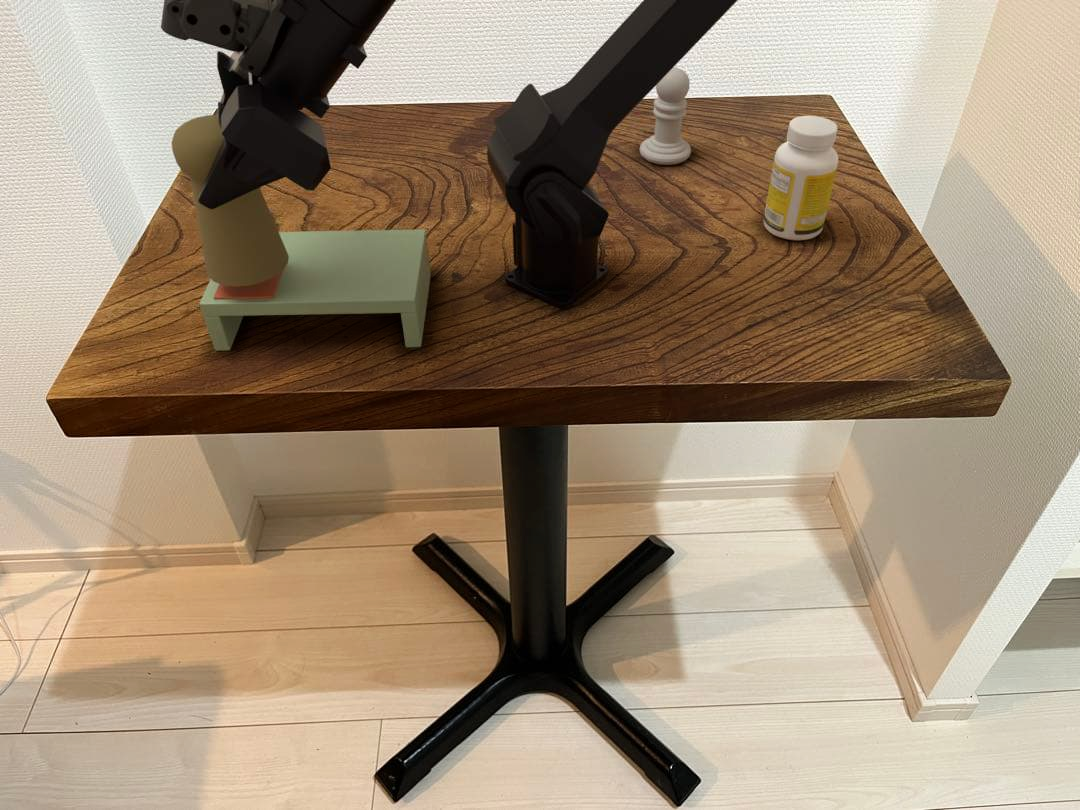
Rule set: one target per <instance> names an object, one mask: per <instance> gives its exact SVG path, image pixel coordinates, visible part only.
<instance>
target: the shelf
mask: <svg viewBox="0 0 1080 810" xmlns="http://www.w3.org/2000/svg"><path fill="white" fill-rule="evenodd" d="M278 232H279V234H280V237H281V239H282V241H283V244H284V246H285V248H286V251H287V253H288V256H289V259H288V264H287V265H286V266H285V268H284V269H283V271H281V272H280V273H278V274H277V275H276V276H274V277H273V278H270V279H268V280H266V281H264V282H261V283H257V284H253V285H249V286H238V287H235V286H225V285H221V284H219V283H216V282H214V281H213V280H212V279H210V280H209V282H208V284H207V286H206V289H205V291H204V293H203V295H202V297H201V299H200V301H199V307H200V311H201V313H202V316H203V320H204V322H205V325H206V327H207V331H208V334H209V337H210V340H211V342H212V345H213V348H214V351H217V352H219V351H231V349H232V347H233V344H234V341H235V339H236V337H237V334H238V332H239V329H240V326H241V323H242V321H243V318H244V317H246V316H249V317H250V316H289V315H290V316H298V315H299V316H300V315H301V316H303V315H307V316H308V315H349V314H350V315H352V314H353V315H354V314H355V315H357V314H358V315H359V314H400V317H401V324H402V330H403V337H404V344H405V348H421V347H422V343H423V334H424V326H425V320H426V315H427V314H426V312H427V306H428V298H429V292H430V291H429V289H430V283H431V277H432V272H431V265H430V253H429V246H428V239H427V230H426V229H425V228H423V229H422V228H421V229H372V230H371V229H368V230H365V229H363V230H318V231H317V230H315V231H307V230H306V231H278Z"/></svg>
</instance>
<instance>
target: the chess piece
mask: <svg viewBox="0 0 1080 810" xmlns="http://www.w3.org/2000/svg"><path fill="white" fill-rule="evenodd" d="M655 90H656V94H657V97H656V98H655V99H654V101H653V106H654V108H653V110H652V113H653V116H654V117H655V123H654V124H655V126H654V134H653V135H651V136H650V137H648V138H646V139H645V140H644V141H642V142H641V143H640V146H639V154H640V156H641V157H642V158H643V159H644V160H646V161H648V162H649V163H652V164H655V165H661V166H672V165H678V164H681V163H683V162H685V161H686V160H688V159H689V157H690V156H691V153H692V148H691V145H690V144H689V143H688V142H687V141H686V140H685V139H684V138H683V137H682V136H681V135H682V127H683V126H682V125H683V118H685V117H686V115H687V109H686V108H687V107H688V101H687V99H686V97H687V95H688V93H689V90H690V78H689V74H688V73H687V72H686V71H684V70H683V69H681V68H679V67H673V68H672V69H671V70H670V71H669V72H668V73H667V74H666V76H665V77H664V78H663V79H662V80H661V81H660V82H659V83H658V84H657V85H656V86H655Z"/></svg>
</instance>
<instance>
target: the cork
mask: <svg viewBox="0 0 1080 810" xmlns="http://www.w3.org/2000/svg"><path fill="white" fill-rule="evenodd" d="M223 140H224V136H223V135H222V132H221V128H220V126H219V122H218V115H216V114H207V115H202V116H197V117H195V118H192V119H189V120H187V121H185V122H183V123H182V124H181V125H180V126H179V127H177V128H176V129H175V131H174V134H173V136H172V139H171V150H172V154H173V157H174V160H175V162H176V164H177V166H178V167H179V169H180V170H181V172H182V173H184V174H185V175H187V176H188V177H189V180H190V185H191V191H192V198H193V202H194V208H195V213H196V220H197V226H198V230H199V231H198V232H199V236H200V242H201V249H202V252H203V253H202V254H203V260H204V264H205V271H206V273H207V277H208V278H209V279H210V280H211V279H212V280H213V281H214V282H216V283H219V284H221V285H225V286H235V287H238V286H249V285H253V284H257V283H261V282H264V281H266V280H268V279H270V278H273V277H274V276H276V275H277V274H278V273H280V272H281V271H283V269H284V268H285V266H286V265H287V264H288V259H289V256H288V253H287V251H286V248H285V246H284V244H283V241H282V239H281V237H280V234H279V232H280V231H279V230H278V228H277V225H276V223H275V221H274V219H273V218H274V217H273V215H272V213H271V211H270V208H269V206H268V204H267V202H266V199H265V197H264V194H263V192H262V190H261V187H260V188H258V189H256V190H253V191H251V192H249V193H247V194H245V195H242V196H240V197H238V198H236V199H234V200H232V201H230V202H228V203H225V204H223V205H221V206H219V207H217V208H215V209H209V208H207V207H205V206H203V205H202V204H200V203H199V202H198V197H199V194H200V192H201V190H202V187H203V185H204V182H205V180H206V178H207V176H208V173H209V171H210V169H211V167H212V165H213V162H214V160H215V158H216V156H217V153H218V151H219V149H220V147H221V145H222V142H223Z"/></svg>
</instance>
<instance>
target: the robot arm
mask: <svg viewBox="0 0 1080 810" xmlns="http://www.w3.org/2000/svg"><path fill="white" fill-rule="evenodd" d="M396 1H397V0H163V5H162V15H161V23H160V29H161V30H162V32H164V33H165V34H166V35H169V36H170V37H172V38H175V39H179V40H181V41H188V40H193V41H197V42H200V43H203V44H207V45H210V46H212V47H216V48H219V49H223V50H226V51H230V52H232V53H231V55H230V56H229V55H228V54H226V53H225V52H223V51H220V50H217V52H216V68H217V72H218V76H219V80H220V83H221V87H222V91H223V93H222V96H221V98H220V101H218V102H217V109H216V112H215V115H218V122H219V126H220V128H221V132H222V135H223V136H224V140H223V142H222V145H221V147H220V149H219V151H218V153H217V156H216V158H215V160H214V162H213V165H212V167H211V169H210V171H209V173H208V176H207V178H206V180H205V182H204V185H203V187H202V190H201V192H200V194H199V197H198V202H199V203H200V204H202V205H203V206H205V207H207V208H209V209H215V208H217V207H219V206H221V205H223V204H225V203H228V202H230V201H232V200H234V199H236V198H238V197H240V196H242V195H245V194H247V193H249V192H251V191H253V190H256V189H258V188H260V189H261V188H262V187H265V186H267V185H269V184H271V183H274V182H277V181H280V180H282V179H285V178H286V179H288V180H289V181H291V182H293V183H294V184H295V185H297V186H299V187H301V188H302V189H304V190H305V191H311V192H315V190H316V189H317V187H318V186H319V185H320V183H321V182H322V181H323V180H324V178H325V177H326V176H327V175H328V173H329V172H330V171H331V169H332V167H331V166H332V165H331V162H330V156H329V152H328V147H327V143H326V138H325V134H324V133H325V132H324V129H323V125H322V124H321V123H319V122H318V121H316V120H315V119H313V118H312V117H310V116H309V115H308V114H306V113H304V112H303V111H302V110H303V109H304V108H305V109H306V110H307V111H309V112H310V113H312V114H313V115H315V116H317V118H319V119H322V118H323V117H324V116H325V114H326V113H327V112H328V110H329V109H330V107H331V106H330V105H331V104H330V101H329V97H328V95H329V93H330V92H331V90H332V89H333V88H334V86H335V85H336V83H338V80H339V79H340V78H341V77H342V75H343V74H344V72H345V71H346V70H347V68H348V67H349V66H350V64H351V65H352V66H353V67H355V68H356V69H360V67H361V66H362V64H363V63H364V62H365V60H366V59H367V57H368V54H367V51H366V49H365V44H366V42H368V40H369V38H370V37H371V36H372V34H373V33H374V31H375V30H376V28H377V27H378V26H379V25H380V23H381V22H382V20H383V19H384V18H385V17H386V15H387V14H388V12H389V11H390V9H392V7H393V5H394V4H395V3H396ZM738 1H739V0H642V1H641V2H640V3H639V5H638V6H636V8H634V10H633V11H632V12H631V13H630V14H629V15H628V16H627V17H626V19H625V20H624V21H623V22H622V23H621V25H619V27H617V28H616V29H615V31H614V32H613V33H612V34H611V35H610V36H609V37H608V38H607V40H606V41H605V42H604V43H602V45H601V46H600V47H599V48H598V49H597V50H596V52H595V53H593V55H591V57H590V58H588V60H587V61H586V63H584V65H582V67H581V68H579V70H578V71H577V72H576V73H575V74H574V75H573V76H572V78H570V80H568V82H566V83H565V84H564V85H562V86H560V87H557V88H555V89H553V90H551V91H548V92H546V93H543V94H542V95H541V94H540V93H539V91H538V90H537V88H536V87H535V86H534V84H533V83H528V84H526V86H525V87H524V88H522V90H521V91H520V93H519V94H518V96H517V97H516V99H515V101H513V102H512V104H511V106H510V107H509V108H508V109H507V110H506V111H504V112H503V113H502V114H500V115H498V116H497V117H494V118H493V119H492V122H493V124H494V126H495V129H494V130H493V131H492V134H491V135H490V136H489V138H488V141H487V144H486V148H487V149H486V154H487V164H488V166H489V169H490V171H491V173H492V175H493V177H494V179H495V181H496V183H497V185H498V187H499V189H500V191H501V193H502V195H503V197H504V199H505V201H506V203H507V205H508V206H509V208H510V209H511V210H512V211H513V212H514V219H515V221H514V222H513V223H512V225H511V226H512V251H513V252H512V253H513V265H514V266H516V267H515V268H514V269H512V270H511V271H509V272H507V273H506V274H505V276H504V282H505V283H506V284H508V285H510V286H512V287H514V288H517V289H518V290H521V291H523V292H525V293H528V294H530V295H531V296H534V297H535V298H538V299H541V300H543V301H545V302H547V303H549V304H552V305H553V306H556V307H558V308H563V309H565V308H567V307H569V306H570V305H571V304H572V303H573V302H575V301H576V300H578V299H579V298H580V297H581V296H583V295H584V294H585V293H587V292H588V291H589V290H591V289H592V288H593V287H594V286H596V285H597V284H598V283H600V282H601V281H602V280H603V279H605V278H606V277H607V276H608V268H607V267H605V266H603V265H601V264H598V258H599V257H598V255H599V237H601V236H602V233H603V230H604V229H605V225H606V223H607V221H608V219H609V211H608V210H607V209H606V207H605V205H604V204H603V203H602V201H601V200H600V197H599V196H598V195H597V193H596V192H595V191H594V189H593V188H592V186H591V184H590V182H591V180H592V179H593V177H594V176H595V174H596V172H597V169H598V167H599V165H600V161H601V159H602V157H603V153H604V152H605V148H606V146H607V143H608V141H609V138H610V136H611V135H612V133H613V131H614V130H615V129H616V128H617V127H618V125H620V123H622V122H623V121H624V120H625V118H626V117H627V116H628V115H629V114H630V113H632V111H633V110H634V109H635V108H636V107H637V106H638V105H639V104H640V103H641V102H642V101H643V100H644V99H645V98H646V96H647V95H648V94H649V93H651V91H652V90H654V88H656V85H657V84H658V83H659V82H660V81H661V80H662V79H663V78H664V77H665V76H666V74H667V73H668V72H669V71H670V70H671V69H672V68H675V67H676V66H677V64H679V62H680V61H681V60H682V59H683V58H684V57H685V56H686V55H687V54H688V53H689V52H690V51H691V50H692V48H694V47H695V45H697V44H698V43H699V41H700V40H702V38H703V37H704V36H705V35H706V34H707V33H708V32H709V31H710V30H711V29H712V28H713V26H715V25H716V24H717V22H719V21H720V20H721V18H722V17H723V16H725V14H727V12H728V11H729V10H730V9H732V7H733V6H734V5H735V4H736V3H737V2H738Z"/></svg>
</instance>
